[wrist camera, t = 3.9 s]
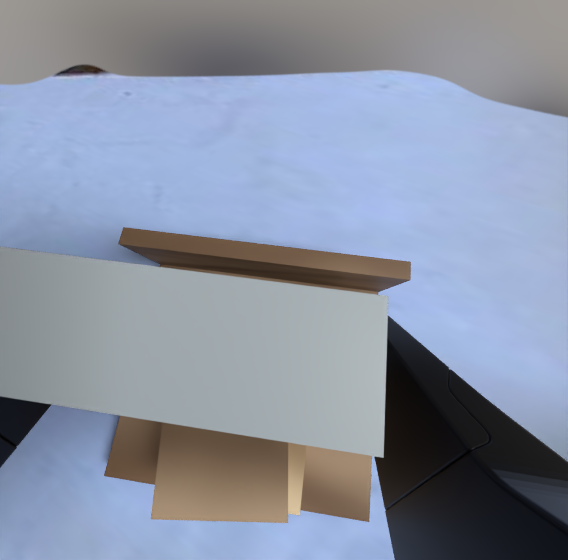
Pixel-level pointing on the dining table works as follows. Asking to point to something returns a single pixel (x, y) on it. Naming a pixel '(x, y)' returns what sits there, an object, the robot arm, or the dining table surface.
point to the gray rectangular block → (195, 349)
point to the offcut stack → (226, 477)
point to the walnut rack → (278, 268)
